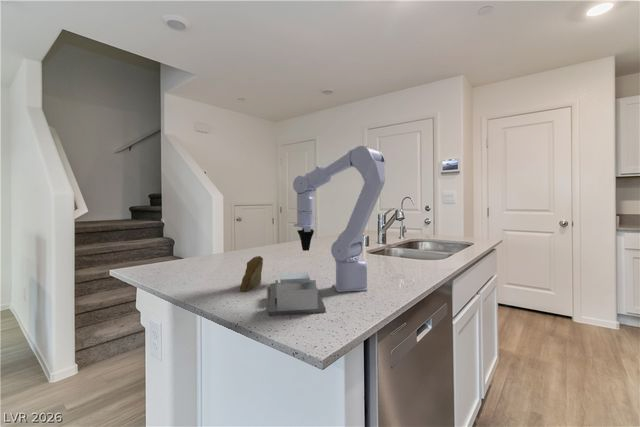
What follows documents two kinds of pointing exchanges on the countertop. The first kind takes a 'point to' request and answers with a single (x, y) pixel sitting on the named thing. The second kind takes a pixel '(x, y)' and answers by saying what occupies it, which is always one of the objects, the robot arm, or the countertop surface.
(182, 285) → the countertop surface
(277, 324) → the countertop surface
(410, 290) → the countertop surface
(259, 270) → the rock
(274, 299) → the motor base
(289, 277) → the pale blue-grey box
